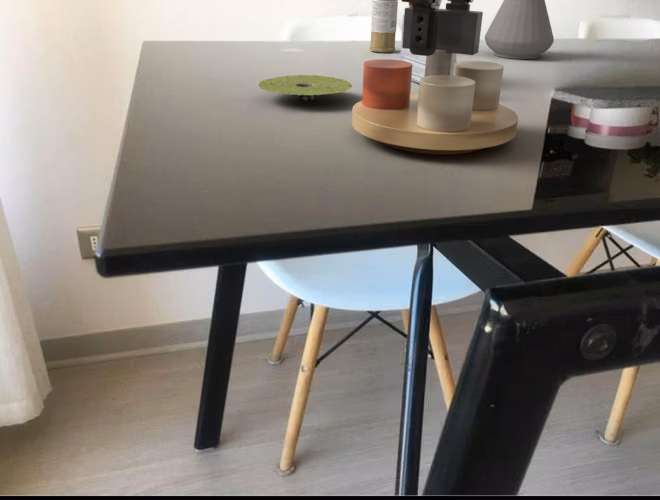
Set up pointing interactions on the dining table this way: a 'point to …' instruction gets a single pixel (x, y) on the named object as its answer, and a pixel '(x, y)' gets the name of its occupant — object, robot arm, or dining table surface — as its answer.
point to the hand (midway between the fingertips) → (439, 48)
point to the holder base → (428, 151)
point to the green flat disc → (305, 85)
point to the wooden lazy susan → (437, 94)
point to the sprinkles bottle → (383, 25)
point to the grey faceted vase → (520, 30)
